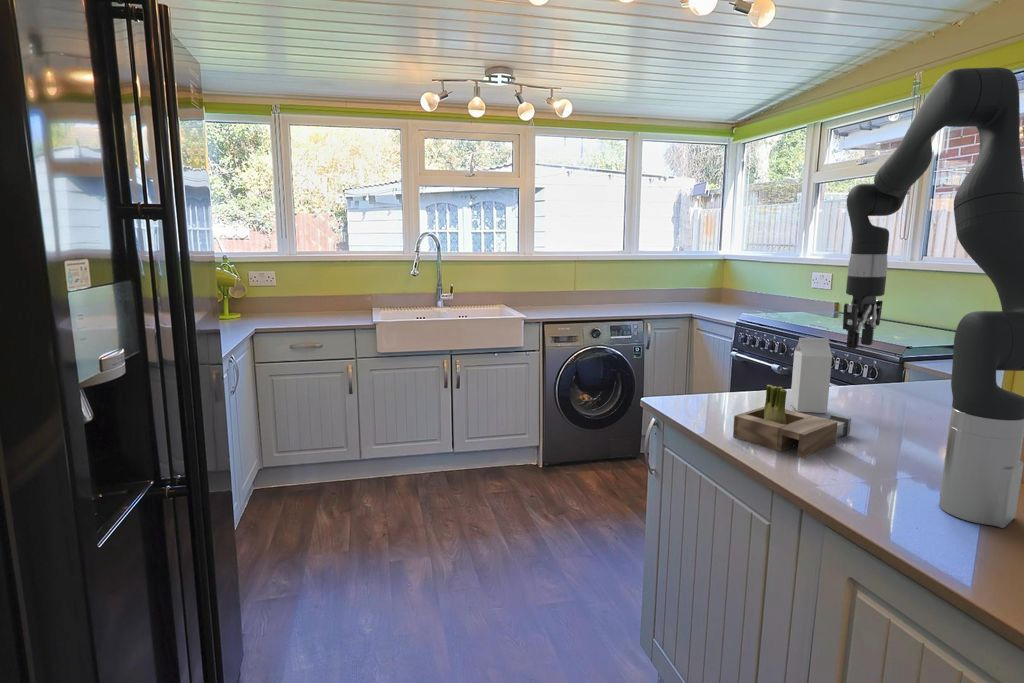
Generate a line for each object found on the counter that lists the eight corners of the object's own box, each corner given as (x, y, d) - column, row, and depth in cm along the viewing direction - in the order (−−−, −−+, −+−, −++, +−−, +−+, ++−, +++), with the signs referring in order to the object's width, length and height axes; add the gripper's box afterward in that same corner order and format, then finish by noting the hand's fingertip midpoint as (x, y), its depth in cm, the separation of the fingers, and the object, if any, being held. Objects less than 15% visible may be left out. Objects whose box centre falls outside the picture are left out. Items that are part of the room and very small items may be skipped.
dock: (835, 443, 126) (837, 421, 125) (802, 457, 118) (804, 434, 117) (767, 425, 138) (768, 405, 138) (733, 436, 130) (734, 415, 130)
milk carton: (827, 413, 147) (833, 341, 144) (797, 412, 149) (803, 340, 145) (818, 405, 154) (824, 336, 151) (789, 404, 155) (795, 335, 152)
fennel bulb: (759, 432, 133) (763, 382, 131) (782, 434, 132) (786, 383, 130) (765, 441, 128) (769, 389, 125) (789, 442, 127) (793, 390, 124)
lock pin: (849, 434, 131) (851, 418, 130) (820, 446, 123) (822, 429, 123) (831, 429, 134) (833, 414, 133) (802, 441, 127) (803, 424, 126)
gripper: (870, 276, 122) (862, 352, 125) (898, 273, 131) (890, 345, 134) (834, 275, 128) (827, 347, 131) (863, 272, 137) (856, 340, 140)
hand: (859, 346), depth 132 cm, fingers open, 6 cm apart
